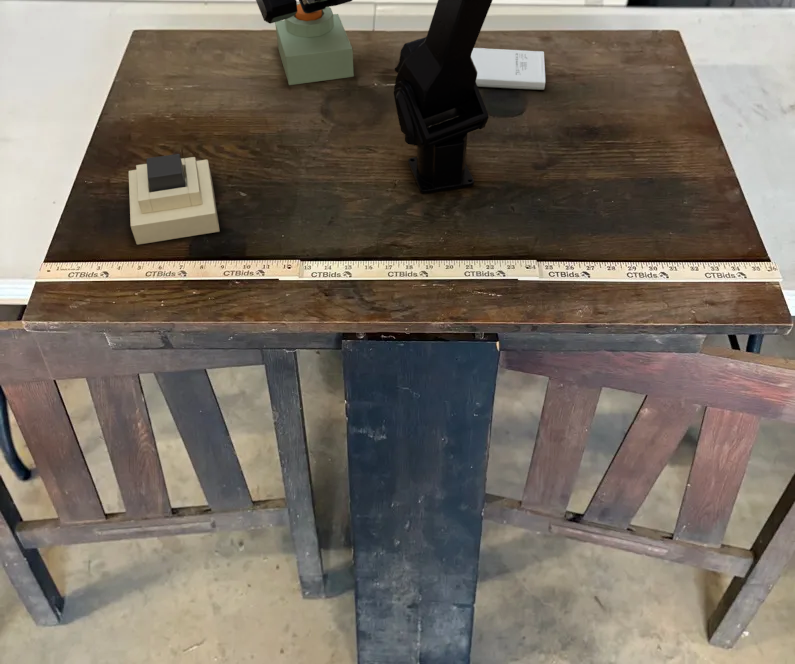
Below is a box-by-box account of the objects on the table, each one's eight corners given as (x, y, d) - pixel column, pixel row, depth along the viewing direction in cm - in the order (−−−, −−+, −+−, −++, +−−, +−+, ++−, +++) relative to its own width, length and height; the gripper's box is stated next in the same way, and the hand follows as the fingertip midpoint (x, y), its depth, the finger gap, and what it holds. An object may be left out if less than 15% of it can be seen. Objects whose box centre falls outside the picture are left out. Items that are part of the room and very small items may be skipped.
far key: (324, 29, 110) (323, 12, 108) (298, 32, 109) (297, 15, 107) (320, 17, 112) (318, 0, 110) (294, 20, 111) (293, 3, 110)
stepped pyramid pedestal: (219, 231, 88) (212, 199, 85) (136, 245, 87) (126, 213, 83) (211, 177, 95) (204, 145, 91) (134, 189, 93) (124, 157, 90)
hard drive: (454, 56, 113) (542, 60, 112) (451, 87, 108) (544, 91, 107) (455, 45, 112) (544, 49, 111) (452, 76, 107) (545, 80, 106)
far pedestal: (353, 76, 110) (351, 35, 105) (288, 85, 108) (284, 44, 104) (338, 39, 117) (336, -2, 112) (277, 46, 115) (272, 6, 111)
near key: (185, 188, 87) (181, 172, 85) (151, 193, 86) (147, 177, 85) (183, 168, 89) (179, 153, 88) (150, 173, 88) (146, 158, 87)
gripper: (384, -131, 96) (345, -68, 111) (242, -99, 90) (220, -37, 104) (418, -40, 98) (375, 10, 112) (281, -3, 91) (253, 45, 106)
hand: (307, 5), depth 109 cm, fingers closed, pressing on far key
